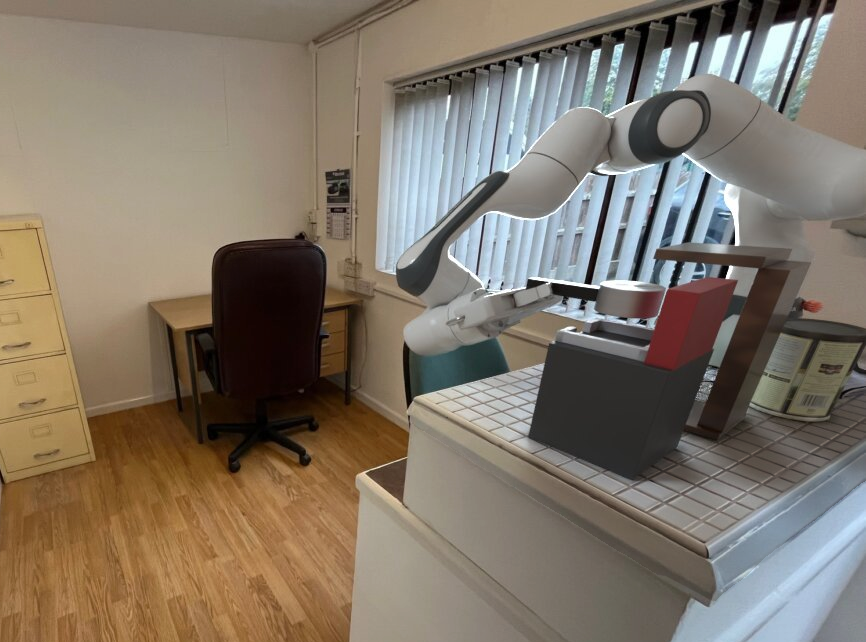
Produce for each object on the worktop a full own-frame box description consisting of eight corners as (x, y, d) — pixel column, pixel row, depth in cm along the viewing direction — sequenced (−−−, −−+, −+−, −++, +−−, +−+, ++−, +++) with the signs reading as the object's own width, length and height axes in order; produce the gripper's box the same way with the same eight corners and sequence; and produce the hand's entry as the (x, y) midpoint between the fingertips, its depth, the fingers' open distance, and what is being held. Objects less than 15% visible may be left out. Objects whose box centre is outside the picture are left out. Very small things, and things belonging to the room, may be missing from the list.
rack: (608, 406, 78) (655, 248, 68) (640, 389, 84) (688, 242, 74) (717, 440, 67) (793, 258, 57) (744, 418, 73) (818, 250, 63)
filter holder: (514, 298, 70) (518, 274, 68) (540, 291, 73) (544, 269, 72) (643, 321, 57) (651, 293, 55) (667, 312, 60) (675, 286, 59)
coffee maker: (527, 436, 70) (563, 277, 60) (575, 412, 77) (614, 265, 67) (632, 480, 59) (696, 294, 49) (676, 447, 66) (741, 279, 56)
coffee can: (773, 392, 82) (809, 315, 76) (847, 418, 72) (894, 332, 67) (724, 398, 80) (757, 319, 74) (794, 425, 71) (837, 338, 65)
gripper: (433, 307, 74) (510, 274, 62) (508, 291, 84) (586, 259, 72) (445, 344, 74) (524, 318, 62) (518, 323, 84) (598, 297, 72)
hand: (558, 286), depth 67 cm, fingers closed on filter holder, 2 cm apart
